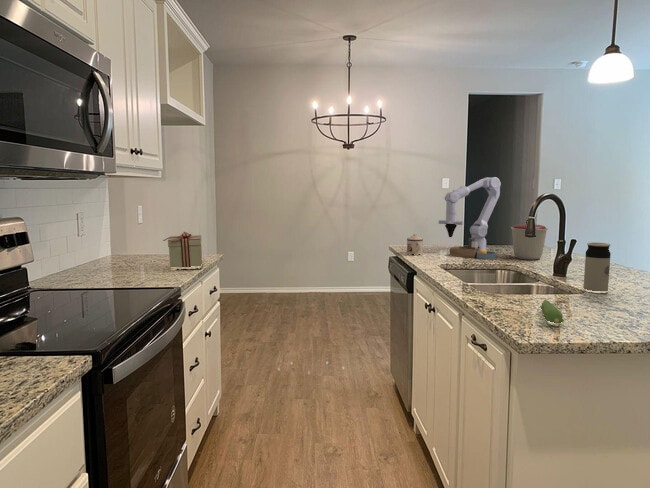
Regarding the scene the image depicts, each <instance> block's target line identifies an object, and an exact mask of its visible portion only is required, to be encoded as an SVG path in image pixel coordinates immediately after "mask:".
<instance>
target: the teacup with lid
mask: <svg viewBox="0 0 650 488" xmlns="http://www.w3.org/2000/svg"><path fill="white" fill-rule="evenodd" d="M423 241H424V238H422V237H420V236H419V235H418V234H417V233H413V234H412V235H411V236H409V237H407V238H406V254H407V255H408V254H415V255H414V256H418V255H417V254H422V255H423Z"/></svg>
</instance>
